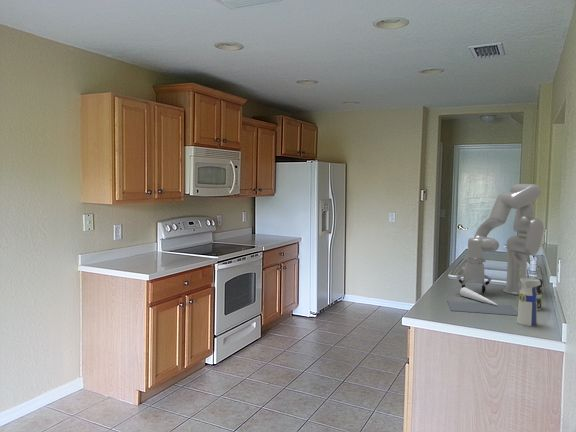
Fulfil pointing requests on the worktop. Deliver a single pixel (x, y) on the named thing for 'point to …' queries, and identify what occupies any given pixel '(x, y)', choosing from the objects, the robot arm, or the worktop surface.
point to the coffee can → (538, 290)
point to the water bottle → (527, 301)
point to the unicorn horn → (474, 296)
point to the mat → (482, 308)
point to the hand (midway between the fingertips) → (473, 292)
